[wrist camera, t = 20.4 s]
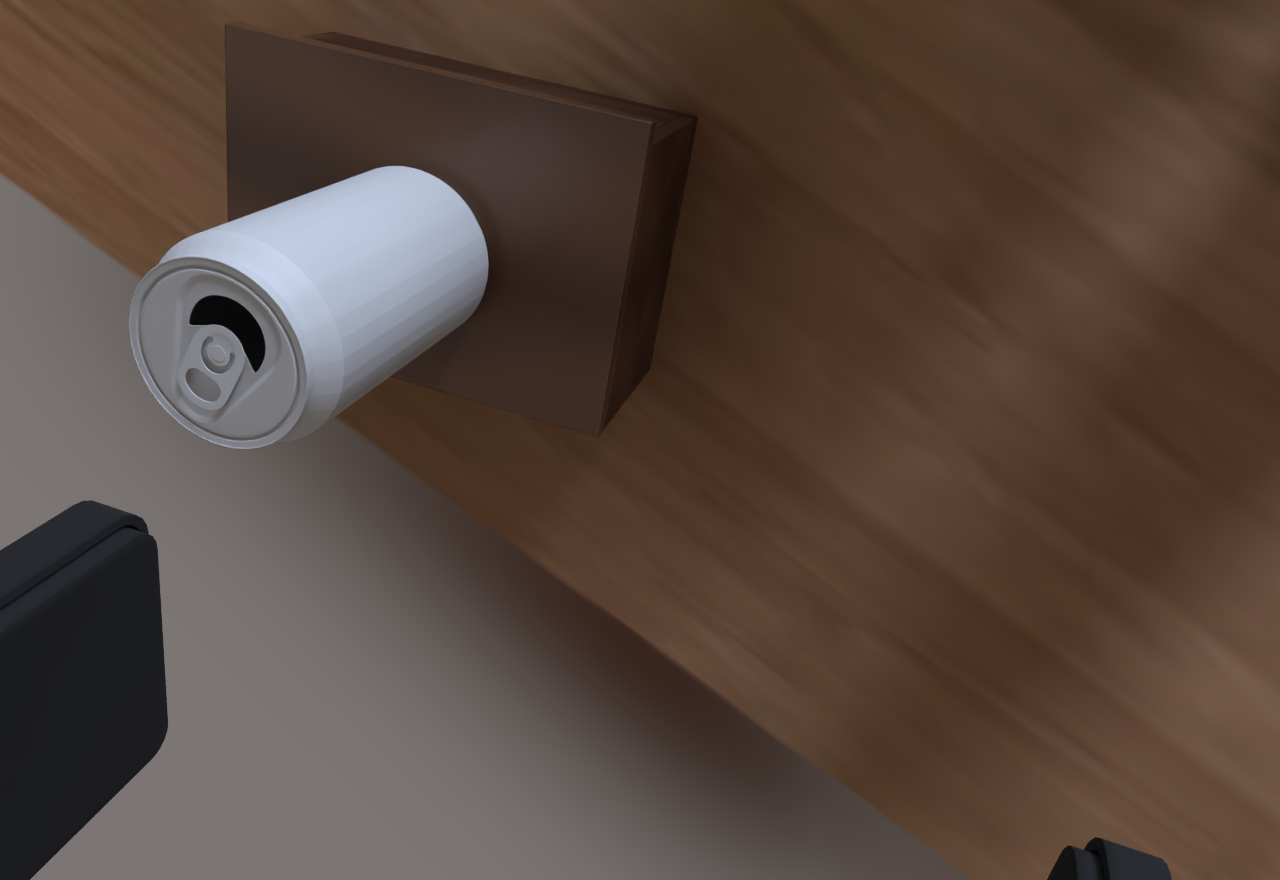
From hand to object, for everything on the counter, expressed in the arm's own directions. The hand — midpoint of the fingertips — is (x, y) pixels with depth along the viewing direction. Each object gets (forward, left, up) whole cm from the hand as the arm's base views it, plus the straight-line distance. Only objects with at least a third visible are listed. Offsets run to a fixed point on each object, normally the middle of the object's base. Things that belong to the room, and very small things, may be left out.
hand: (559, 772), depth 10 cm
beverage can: (+6, -15, -27) cm, 31 cm away
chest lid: (+5, -15, -28) cm, 32 cm away
